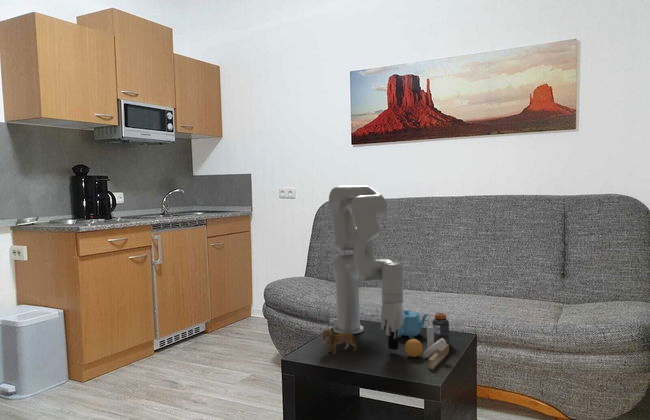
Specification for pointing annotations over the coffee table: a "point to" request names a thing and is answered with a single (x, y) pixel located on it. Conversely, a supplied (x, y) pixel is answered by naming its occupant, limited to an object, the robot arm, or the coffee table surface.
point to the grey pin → (430, 336)
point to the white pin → (434, 348)
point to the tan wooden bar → (438, 356)
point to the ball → (413, 347)
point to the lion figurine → (337, 339)
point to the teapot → (411, 324)
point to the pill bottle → (441, 327)
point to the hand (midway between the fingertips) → (393, 348)
